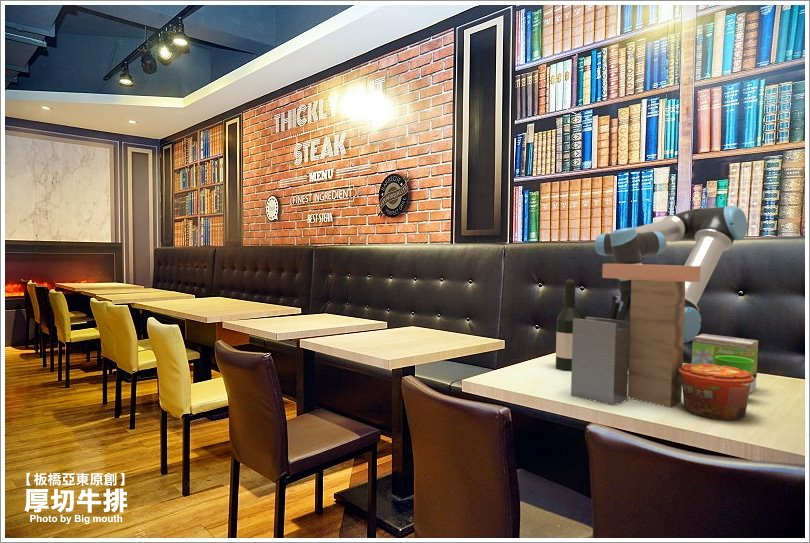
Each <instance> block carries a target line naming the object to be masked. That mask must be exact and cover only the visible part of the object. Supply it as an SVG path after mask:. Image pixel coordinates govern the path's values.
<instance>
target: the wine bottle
mask: <svg viewBox="0 0 810 543" xmlns="http://www.w3.org/2000/svg"><path fill="white" fill-rule="evenodd" d="M574 318H576V319H582V318H581V316H580V315H579V313H578V311H577V309H576V282H575V280H574V279H566V281H565V282H564V306H563V308H562V310H561V312H559V315H558V316H557V318H556V338H555V339H556V340H555V341H556V342H555V370H558V371H559V370H560V371H563V372H564V371H565V372H572V340H573V319H574Z"/></svg>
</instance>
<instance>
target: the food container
mask: <svg viewBox="0 0 810 543" xmlns="http://www.w3.org/2000/svg"><path fill="white" fill-rule="evenodd" d="M678 372H679V373H681V379H682V397H683V398H682V400H683V408H684V410H685V411H687V412H688V413H691V414H693V415H697V416H699V417H703V418H707V419H714V420H720V421H739V420H742V419H744V418H746V413H747V407H748V402H749V401H748V400H749V395H750V394H749V391H750V386H751V382H754V377H753V376H752V375H751V374H750V372H748V371H746V370H739V369H738V368H735V367H729V366H717V365H715V364H697V365H695V364H691V363H686V364H683V366H682V367H681V368H679V370H678Z"/></svg>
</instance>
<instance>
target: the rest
mask: <svg viewBox="0 0 810 543" xmlns="http://www.w3.org/2000/svg"><path fill="white" fill-rule="evenodd" d="M628 352H629V321H621V320H612V319H609V318H601V317H591V316H585V318H584V319H583V318H581V319H576V318H574V319H573V340H572V371H571V376H570V377H571V380H570V383H571V384H570V386H571V387H570V395H571V396H572V395H574V396H573V397H576V396H579V397H578V398H581V397H583V398H582V399H585V398H587V399H586V400H589V399H591V400H590V401H593V400H596V401H595V402H597V401H600V402H599V403H601V402H604V403H603V404H605V403H608V404H607V405H609V404H612V405H611V406H615V405H614V404H616V405H618V404H620V403H619V402H621V403H623V402H622V401H624V400H626V401H627V400H628V372H629V368H628ZM624 402H625V401H624ZM617 403H618V404H617Z"/></svg>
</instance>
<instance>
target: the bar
mask: <svg viewBox="0 0 810 543" xmlns="http://www.w3.org/2000/svg"><path fill="white" fill-rule="evenodd" d="M601 273H602V275H601V277H602V279H603V278H604V279H617V280H620V279H638V280H658V281H679V282H700V273H701V266H684V265H677V264H675V265H673V264H671V265H670V264H668V265H667V264H643V263H642V264H615V263H602V272H601Z"/></svg>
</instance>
